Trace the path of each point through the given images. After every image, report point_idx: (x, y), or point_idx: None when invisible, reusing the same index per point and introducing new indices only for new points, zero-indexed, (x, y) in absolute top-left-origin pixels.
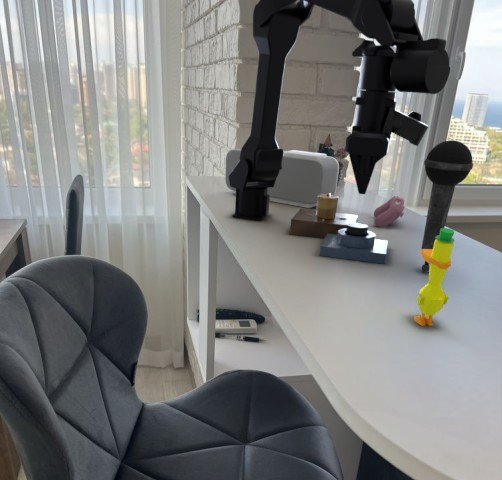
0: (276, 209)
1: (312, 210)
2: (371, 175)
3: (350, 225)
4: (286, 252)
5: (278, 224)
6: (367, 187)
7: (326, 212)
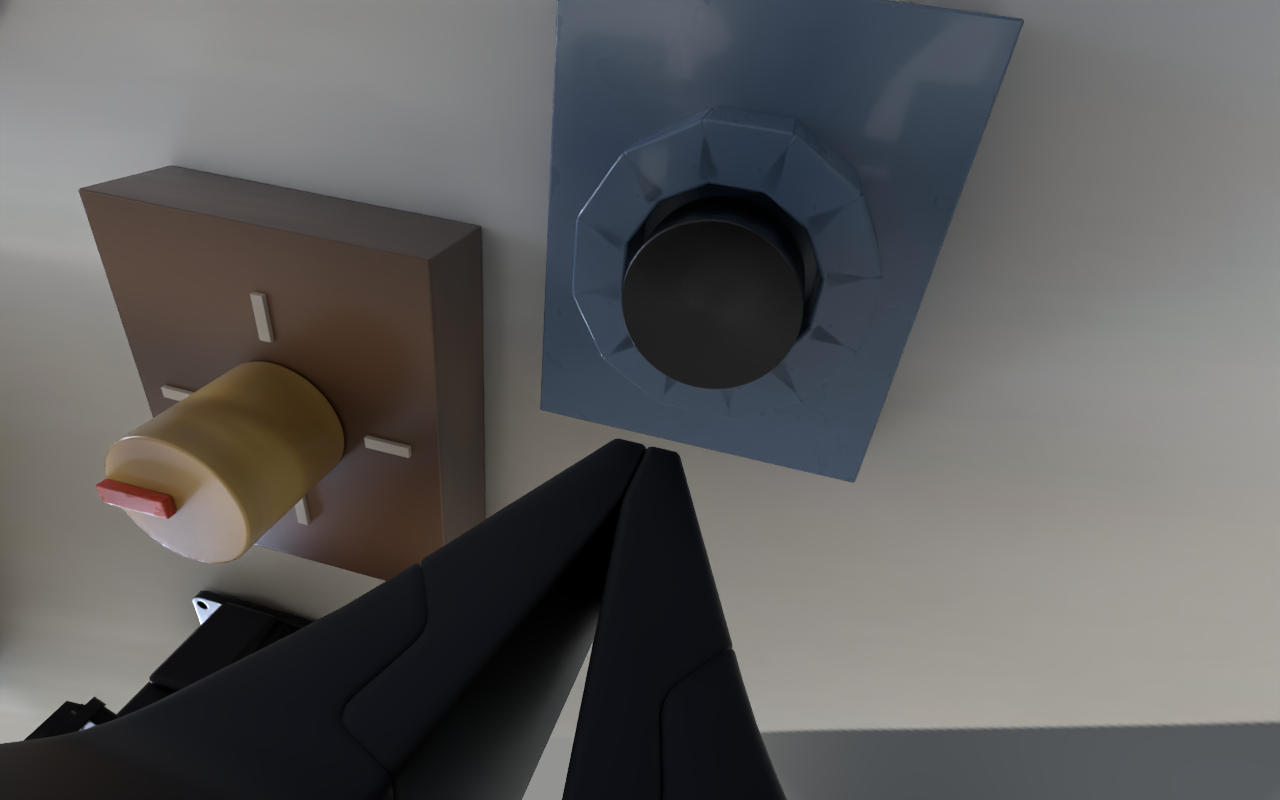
0: (81, 543)
1: None
2: (728, 643)
3: (731, 369)
4: (820, 586)
5: None
6: (644, 484)
7: (317, 451)
